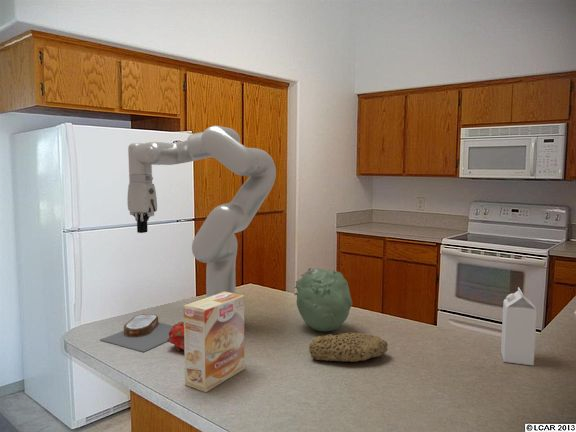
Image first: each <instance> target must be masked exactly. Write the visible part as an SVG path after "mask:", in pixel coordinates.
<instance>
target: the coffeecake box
mask: <svg viewBox="0 0 576 432" xmlns="http://www.w3.org/2000/svg"><path fill="white" fill-rule="evenodd" d="M244 316H245V295H243V294H239V293H236V294H235V293H229V292H222V293H219V294H216V295H213V296H210V297H207V298H206V297H205V298H202V299H199V300H195V301H193V302H190V303H187V304H183V322H184V350H183V351H184V386H187V387H189V388H190V387H191V388H193V389H196V390H198V391H201V392H204V393H208V392H209V391H210V390H213V389H214V388H215V387H217V386H219V385H220V384H222V383H224V382H226V381H227V380H228V379H230V378H232V377H233V376H236V375H237V374H239V373H240V372H241V371H244V370H245V368H246V367H245V319H244Z"/></svg>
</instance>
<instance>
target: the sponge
mask: <svg viewBox="0 0 576 432" xmlns="http://www.w3.org/2000/svg"><path fill="white" fill-rule="evenodd" d="M388 346H389V343H388V341H387V340H384V339H383V338H381V337H380V336H377V335H372V334H368V333H359V332H345V333H344V332H343V333H339V334H337V335H336V334H335V335H333V334H331V333H330V334H325V335H318V336H314V337H313V338H312V340H311V343H310V344H309V345H308V347H309V348H308V352H309V354H310V356H311V359H314V360H316V361H325V362H326V361H327V362H333V361H335V362H345V363H346V362H351V363H352V362H353V363H355V362H356V363H357V362H361V361H362V362H363V361H364V362H365V361H367V360H369V359H373V358H378V357H380V356H382V355H383V354H386V353H387V352H388Z"/></svg>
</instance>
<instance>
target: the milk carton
mask: <svg viewBox="0 0 576 432" xmlns="http://www.w3.org/2000/svg"><path fill="white" fill-rule="evenodd" d="M502 303H503V304H502V305H503V306H502V322H501V323H502V325H501V326H502V327H501V343H500V345H501V347H500V355H501V357H502V361H503V362H504V363H510V364H517V365H524V366H525V365H526V366H534V365H535V352H536V350H535V349H536V333H537V331H536V330H537V316H538V315H537V313H538V310H537V308H536V306H535V305H534V304H533V302H532V301H531V300H530V299H529V298H527V297H526V296H525V294H524V293H523V292H522V290H521V289H520V287H519V286H518V287H517V291H515V292H514V293H509V294H507V296H506V297H505V298H504V300H503V301H502Z"/></svg>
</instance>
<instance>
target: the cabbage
mask: <svg viewBox="0 0 576 432" xmlns="http://www.w3.org/2000/svg"><path fill="white" fill-rule="evenodd" d="M300 276H301V278H299V279H298V280H296V281H295V283H296V284H295V287H294V289H296V291H297V292H295V293H293V295H295V296H296V306H297V307H296V308H297V309H298V313H299V314H300V316H301V318H302V320H303V321H304V323H306V325H308V326H309V327H310V329H311V328H312V329H313V330H315V331H318V332H332V331H336V330H337V329H338V328H339V327H341V326H342V325H343V324H344V323H345V321H346V320H347V319H348V317H349V314H350V310H351V308H352V306H353V300H352V297H351V296H352V295H351V291H350V287H349V283H348V281H347V279H346V278H344V275H343V273H341V272H340V271H335V270H330V269H328V270H326V269H322V268H318V267H316V268H315V267H313V268H312V267H310V268H308V269H307V270H306V271H305V272H304V273H303V274H301V275H300Z"/></svg>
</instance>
